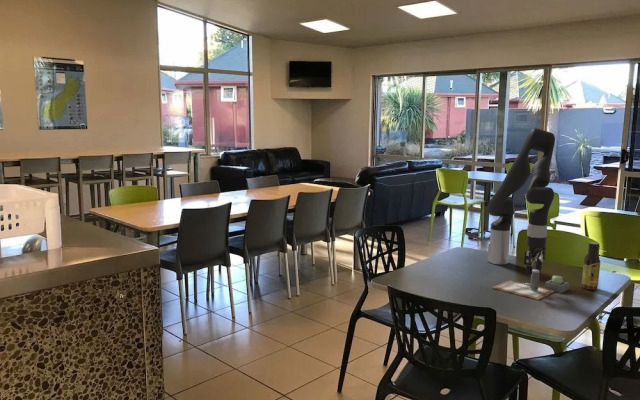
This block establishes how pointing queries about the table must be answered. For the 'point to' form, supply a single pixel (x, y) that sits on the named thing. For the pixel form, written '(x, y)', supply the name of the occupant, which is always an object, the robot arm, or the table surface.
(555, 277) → the button
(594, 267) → the sauce bottle
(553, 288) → the button housing
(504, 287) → the clipboard
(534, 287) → the cylinder
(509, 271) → the table surface
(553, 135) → the robot arm
